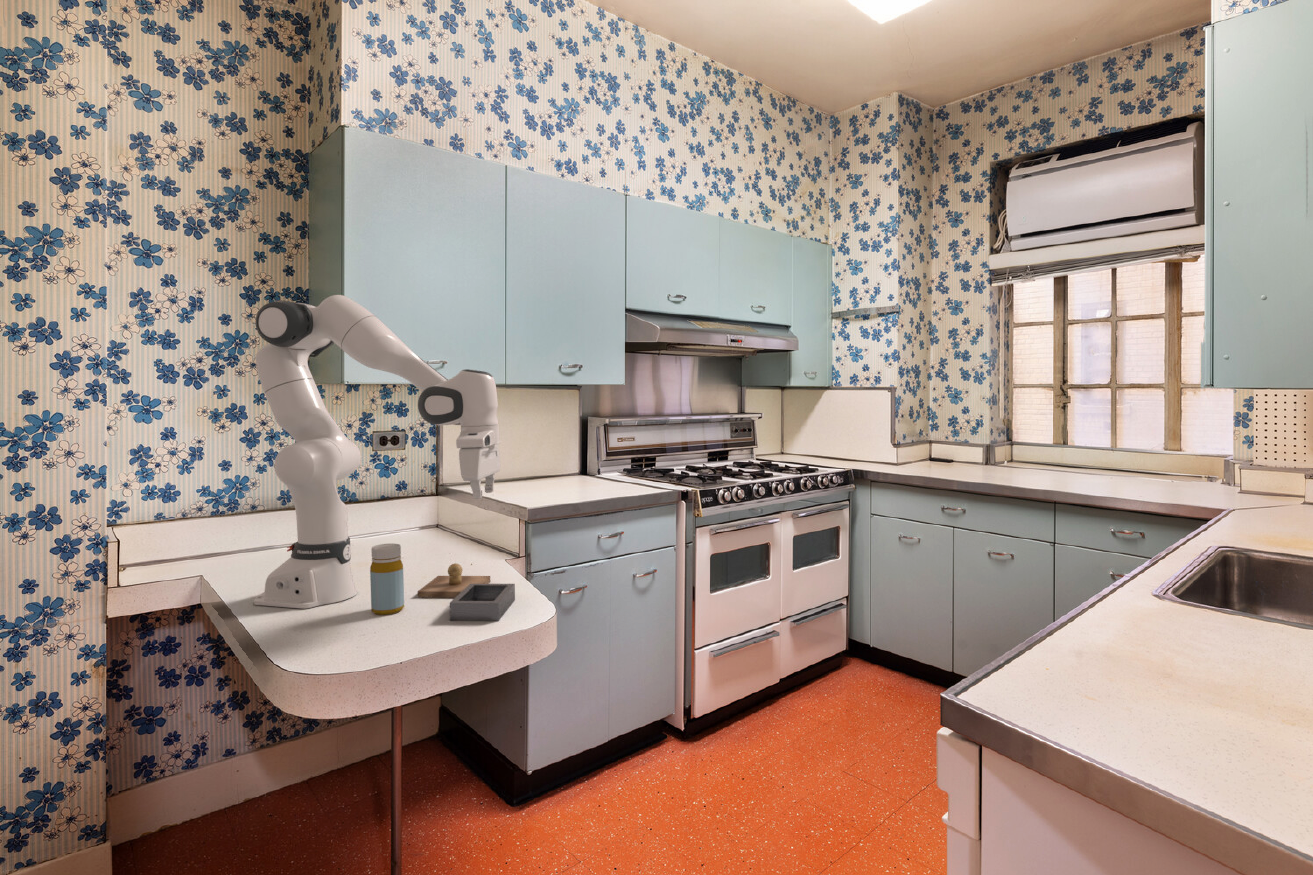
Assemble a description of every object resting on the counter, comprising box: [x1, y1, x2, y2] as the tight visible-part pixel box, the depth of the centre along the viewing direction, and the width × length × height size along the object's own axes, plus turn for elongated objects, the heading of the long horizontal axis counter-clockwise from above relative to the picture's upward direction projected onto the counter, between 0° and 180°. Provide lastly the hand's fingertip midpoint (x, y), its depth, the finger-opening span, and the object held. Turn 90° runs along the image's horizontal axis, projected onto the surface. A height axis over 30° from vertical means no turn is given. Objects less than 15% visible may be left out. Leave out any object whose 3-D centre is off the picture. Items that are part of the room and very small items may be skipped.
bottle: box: [369, 543, 405, 616], centre depth 150 cm, size 7×7×15 cm
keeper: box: [417, 562, 491, 599], centre depth 167 cm, size 14×14×7 cm
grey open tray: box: [449, 583, 516, 622], centre depth 151 cm, size 11×15×4 cm
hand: (483, 495), depth 157 cm, fingers open, 8 cm apart
